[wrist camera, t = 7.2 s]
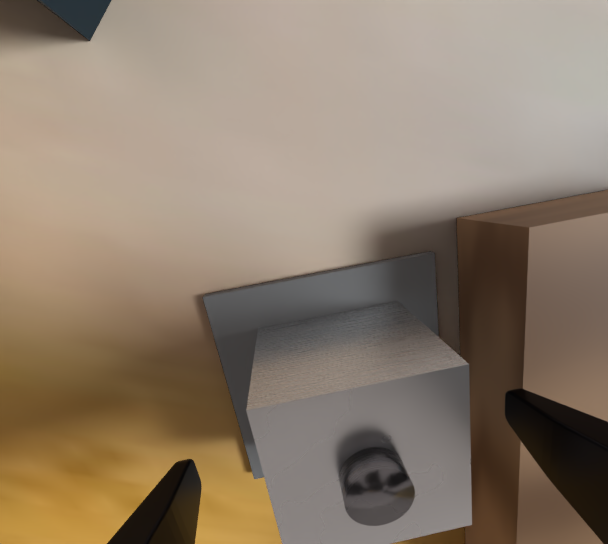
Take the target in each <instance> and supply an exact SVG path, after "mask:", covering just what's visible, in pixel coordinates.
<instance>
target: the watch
mask: <svg viewBox="0 0 608 544" xmlns="http://www.w3.org/2000/svg"><path fill="white" fill-rule="evenodd" d="M37 1H39V2H40V3H41V4H43V5H44V6H45V7H46V8H48V9H49V10H50V11H52V12H53V13H54V14H56V15H57V16H58V17H59V18H61V19H62V20H63V21H65V22H66V23H67V24H69V25H70V26H71V27H72V28H74V29H75V30H76V31H78V32H79V33H80V34H82V35H83V36H84V37H85V38H87V39H88V40H89V41H90V40H91V38H92V36H93V34H94V32H95V30H96V28H97V26H98V25H99V23H100V21H101V19H102V17H103V15H104V13H105V11H106V9H107V8H108V6H109V4H110V2H111V0H37Z"/></svg>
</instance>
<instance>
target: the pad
mask: <svg viewBox="0 0 608 544" xmlns="http://www.w3.org/2000/svg"><path fill="white" fill-rule="evenodd" d="M203 300H204V304H205V307H206V311H207V314H208V318H209V322H210V325H211V329H212V332H213V336H214V339H215V343H216V346H217V350H218V353H219V357H220V360H221V364H222V367H223V371H224V374H225V378H226V381H227V385H228V388H229V392H230V395H231V399H232V402H233V406H234V409H235V413H236V416H237V420H238V423H239V427H240V430H241V434H242V438H243V441H244V445H245V448H246V452H247V455H248V459H249V462H250V466H251V469H252V473H253V476H254V479H258V478H262V477H264V474H263V470H262V467H261V463H260V459H259V456H258V452H257V448H256V445H255V441H254V437H253V434H252V430H251V426H250V423H249V419H248V415H247V412H246V409H247V402H248V395H249V388H250V381H251V374H252V367H253V360H254V353H255V346H256V339H257V333H258V328H261V327H266V326H271V325H276V324H281V323H286V322H291V321H296V320H301V319H307V318H312V317H317V316H322V315H327V314H332V313H337V312H342V311H347V310H352V309H357V308H362V307H368V306H373V305H378V304H383V303H388V302H393V301H398V302H399V303H401V304H402V305H403V306H404V307H405V308H406V309H407V310H408V311H410V312H411V313H412V314H413V315H414V316H415V317H416V318H418V319H419V320H420V321H421V322H422V323H423V324H424V325H425V326H427V327H428V328H429V329H430V330H431V331H432V332H433V333H434V334H436V335H437V336H438V337H439V331H438V311H437V290H436V270H435V253H433V252H431V251H429V252H424V253H419V254H414V255H408V256H403V257H398V258H393V259H387V260H382V261H377V262H372V263H366V264H361V265H356V266H351V267H345V268H340V269H335V270H330V271H324V272H319V273H314V274H308V275H303V276H298V277H293V278H287V279H282V280H277V281H272V282H266V283H261V284H256V285H251V286H245V287H240V288H235V289H230V290H224V291H219V292H214V293H209V294H205V295H204V296H203Z"/></svg>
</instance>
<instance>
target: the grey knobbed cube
mask: <svg viewBox="0 0 608 544" xmlns="http://www.w3.org/2000/svg"><path fill="white" fill-rule="evenodd" d="M246 412H247V415H248V419H249V423H250V426H251V430H252V434H253V437H254V441H255V445H256V448H257V452H258V456H259V459H260V463H261V467H262V470H263V474H264V478H265V481H266V485H267V489H268V492H269V496H270V500H271V503H272V507H273V511H274V514H275V518H276V522H277V525H278V529H279V533H280V537H281V540H282V544H391V543H396V542H400V541H404V540H409V539H413V538H417V537H421V536H426V535H430V534H434V533H439V532H443V531H447V530H452V529H456V528H460V527H465V526H469V525H472V494H471V439H470V385H469V364H468V363H467V362H466V361H465V360H464V359H463V358H462V357H460V356H459V355H458V354H457V353H456V352H455V351H454V350H453V349H451V348H450V347H449V346H448V345H447V344H446V343H445V342H444V341H442V340H441V339H440V338H439V337H438V336H437V335H436V334H434V333H433V332H432V331H431V330H430V329H429V328H428V327H427V326H425V325H424V324H423V323H422V322H421V321H420V320H419V319H418V318H416V317H415V316H414V315H413V314H412V313H411V312H410V311H408V310H407V309H406V308H405V307H404V306H403V305H402V304H401V303H399V302H398V301H393V302H388V303H383V304H378V305H373V306H368V307H362V308H357V309H352V310H347V311H342V312H337V313H332V314H327V315H322V316H317V317H312V318H307V319H301V320H296V321H291V322H286V323H281V324H276V325H271V326H266V327H261V328H258V333H257V339H256V346H255V353H254V360H253V367H252V374H251V381H250V388H249V395H248V402H247V409H246Z"/></svg>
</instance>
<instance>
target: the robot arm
mask: <svg viewBox="0 0 608 544" xmlns="http://www.w3.org/2000/svg"><path fill="white" fill-rule="evenodd" d="M505 418H506V420H507V422H508V424H509V425H510V427H511V428H512V429H513V431H514V432H515V433H516V435H517V436H518V438H519V439H520V440H521V442H522V443H523V445H524V446H525V447H526V449H527V450H528V451H529V453H530V454H531V456H532V457H533V458H534V460H535V461H536V463H537V464H538V465H539V467H540V468H541V469H542V471H543V472H544V473H545V475H546V476H547V477H548V479H549V480H550V481H551V482H552V484H553V485H554V486H555V487H556V488H557V490H558V491H559V492H560V493H561V494H562V495H563V497H564V498H565V499H566V500H567V501H568V503H569V504H570V505H571V506H572V507H573V508H574V510H575V511H576V512H577V513H578V514H579V515H580V517H581V518H582V519H583V520H584V521H585V523H586V524H587V525H588V526H589V527H590V528H591V530H592V531H593V532H594V533H595V534H596V535H597V537H598V538H599V539H600V540H601V541H602V543H603V544H608V422H607V421H605V420H602V419H600V418H597V417H594V416H592V415H589V414H587V413H584V412H581V411H579V410H576V409H574V408H571V407H569V406H566V405H563V404H561V403H558V402H556V401H553V400H551V399H548V398H545V397H543V396H540V395H538V394H535V393H532V392H530V391H527V390H525V389H521V388H518V389H513V390H509V391H507V392H506V393H505ZM200 497H201V480H200V477H199V474H198V471H197V469H196V466H195V463H194V461H193V460H192V459H187V460H182V461H178V462H176V463H175V464H174V465H173V467H172V468H171V469H170V470H169V471H168V472H167V474H166V475H165V476H164V477H163V478H162V479H161V481H160V482H159V483H158V484H157V485H156V487H155V488H154V489H153V490H152V491H151V492H150V494H149V495H148V496H147V497H146V498H145V500H144V501H143V502H142V503H141V504H140V505H139V507H138V508H137V509H136V510H135V511H134V513H133V514H132V515H131V516H130V517H129V518H128V520H127V521H126V522H125V523H124V524H123V525H122V527H121V528H120V529H119V530H118V531H117V533H116V534H115V535H114V536H113V537H112V538H111V540H110V541H109V542H108V543H107V544H195V537H196V529H197V521H198V513H199V505H200Z"/></svg>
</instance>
